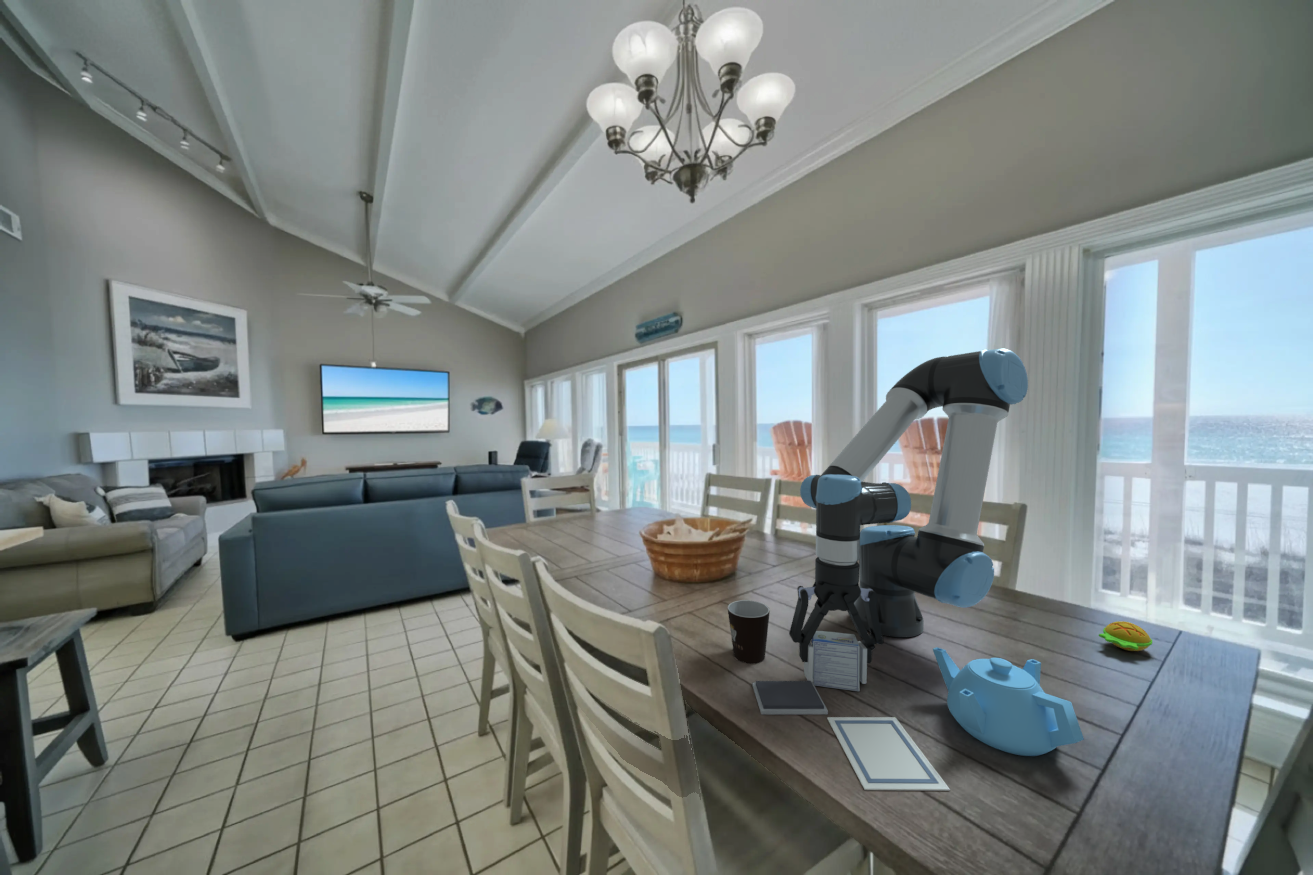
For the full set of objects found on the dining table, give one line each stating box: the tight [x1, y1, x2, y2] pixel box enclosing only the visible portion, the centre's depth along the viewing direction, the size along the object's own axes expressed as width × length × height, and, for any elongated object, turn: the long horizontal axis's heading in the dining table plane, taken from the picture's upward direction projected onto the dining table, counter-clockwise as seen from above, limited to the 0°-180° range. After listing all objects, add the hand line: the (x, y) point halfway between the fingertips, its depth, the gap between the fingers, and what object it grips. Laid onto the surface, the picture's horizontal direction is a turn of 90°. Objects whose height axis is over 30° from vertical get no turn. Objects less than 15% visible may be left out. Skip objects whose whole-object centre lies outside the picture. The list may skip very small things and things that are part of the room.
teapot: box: [932, 646, 1085, 757], centre depth 68 cm, size 15×15×11 cm
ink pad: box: [752, 680, 829, 715], centre depth 77 cm, size 11×8×1 cm
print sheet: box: [826, 716, 951, 792], centre depth 64 cm, size 11×14×1 cm
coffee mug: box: [727, 599, 771, 665], centre depth 93 cm, size 12×9×10 cm
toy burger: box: [1098, 620, 1153, 652], centre depth 90 cm, size 7×10×5 cm
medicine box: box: [811, 630, 860, 692], centre depth 81 cm, size 8×4×9 cm, turn 74°
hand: (834, 678), depth 81 cm, fingers open, 9 cm apart
